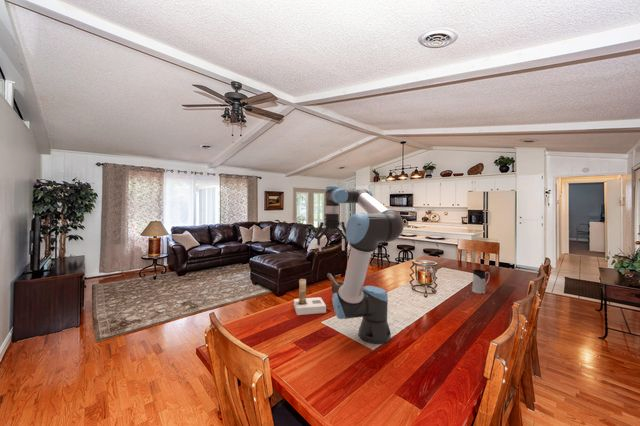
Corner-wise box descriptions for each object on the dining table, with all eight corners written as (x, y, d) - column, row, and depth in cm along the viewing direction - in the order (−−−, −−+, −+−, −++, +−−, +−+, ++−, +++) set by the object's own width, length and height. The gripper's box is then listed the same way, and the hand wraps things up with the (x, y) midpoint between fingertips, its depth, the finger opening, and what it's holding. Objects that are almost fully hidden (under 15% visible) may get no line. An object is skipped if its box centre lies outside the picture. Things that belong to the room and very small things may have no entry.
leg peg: (306, 310, 156) (306, 280, 155) (299, 311, 155) (299, 281, 154) (305, 308, 160) (305, 278, 159) (298, 308, 159) (298, 279, 158)
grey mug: (468, 289, 195) (469, 269, 194) (483, 288, 200) (484, 268, 199) (479, 294, 187) (480, 273, 186) (494, 292, 191) (495, 271, 190)
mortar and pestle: (334, 308, 160) (334, 275, 159) (324, 304, 166) (325, 272, 165) (347, 304, 167) (348, 272, 166) (338, 299, 174) (338, 269, 173)
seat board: (326, 312, 154) (326, 305, 154) (297, 315, 150) (297, 308, 150) (320, 303, 167) (320, 297, 167) (293, 305, 163) (293, 299, 163)
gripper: (350, 212, 156) (350, 248, 157) (309, 213, 150) (309, 250, 151) (355, 213, 149) (354, 251, 150) (311, 213, 143) (311, 252, 144)
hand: (331, 250), depth 150 cm, fingers open, 13 cm apart
